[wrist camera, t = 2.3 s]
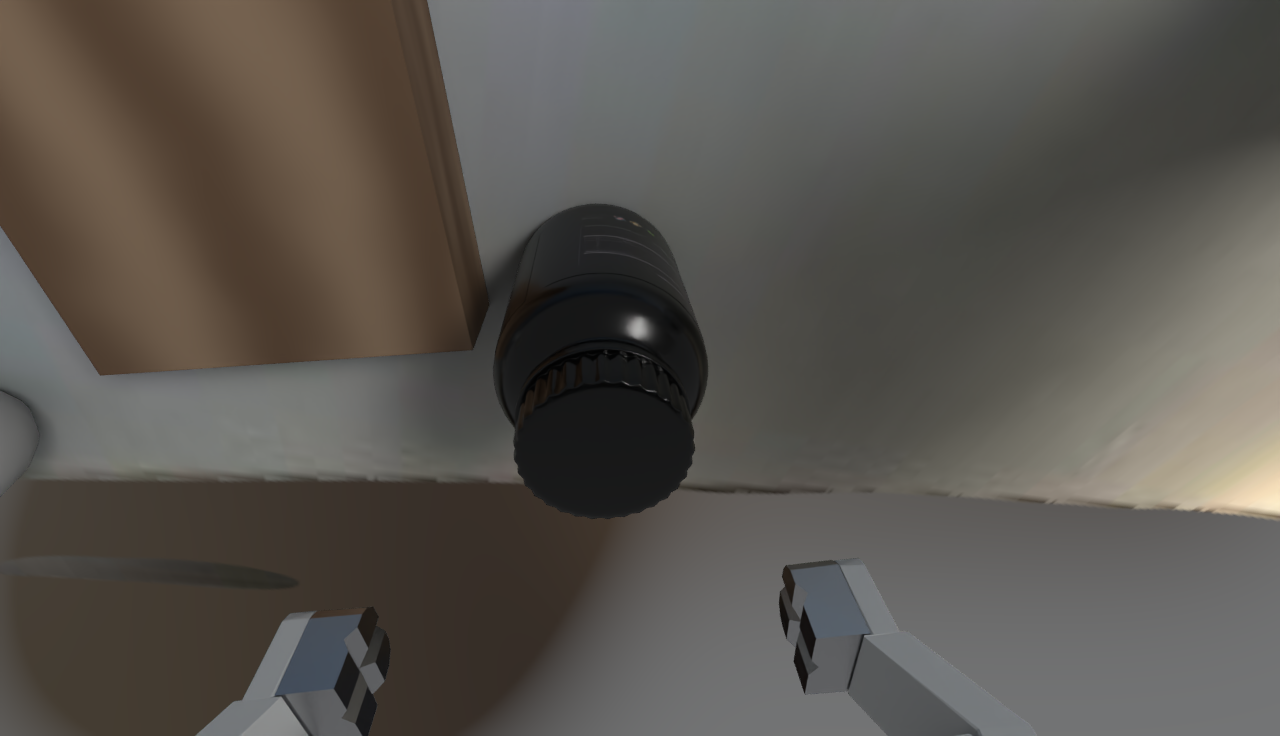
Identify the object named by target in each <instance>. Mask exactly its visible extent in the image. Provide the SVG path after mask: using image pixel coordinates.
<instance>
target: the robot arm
mask: <svg viewBox="0 0 1280 736" xmlns="http://www.w3.org/2000/svg"><path fill="white" fill-rule="evenodd" d="M782 578H783V581H784V584H785V587H784V588H783V589H782V590H781V591H780V597H779V608H780V617H781V622H782V626H783V629H784V633H785V636H786V639H787V640H788V641H789V642H790V643H791V644H792V645H794V646H795V647H796V649H795V655H794V664H795V667H796V670H797V673H798V676H799V679H800V682H801V685H802V688H803V691H804V693H805V695H806V694H818V693H830V692H844V691H848V694H849V695H850V696H851V697H852V698H853V700H854V701H855V702H856V703H857V704H858V705H859V706H860V707H861V708H862V709H863V710H864V711H865V712H866V713H867V714H868V715H869V716H870V718H871V719H873V721H874V722H875V723H876V724H877V725H878V726H879V727H880V728H881V729H882V730H883V731H884V732H885V733H886V734H887V735H888V736H1037V734H1036V733H1035V731H1034V730H1033V728H1032V726H1031V725H1030V724H1028V723H1027V722H1026V721H1024V720H1023V719H1022V718H1021V717H1019V716H1018V715H1017V714H1015V713H1014V712H1013V711H1011V710H1010V709H1009V708H1007V707H1006V706H1005V705H1004V704H1002V703H1001V702H1000V701H998V700H997V699H996V698H994V697H993V696H991V695H990V694H989V693H988V692H987V691H985V690H984V689H983V688H981V687H980V686H979V685H977V684H976V683H975V682H973V681H972V680H971V679H969V678H968V677H967V676H965V675H964V674H963V673H962V672H960V671H959V670H958V669H956V668H955V667H954V666H952V665H951V664H950V663H948V662H947V661H946V660H945V659H943V658H942V657H940V656H939V655H938V654H937V653H935V652H934V651H933V650H931V649H930V648H929V647H927V646H926V645H925V644H924V643H922V642H921V641H920V640H918V639H917V638H916V637H914V636H913V635H912V634H910V633H909V632H908V631H899V629H898V627H897V625H896V623H895V621H894V620H893V618H892V616H891V614H890V612H889V610H888V608H887V606H886V604H885V602H884V600H883V598H882V597H881V595H880V593H879V591H878V589H877V587H876V585H875V583H874V581H873V580H872V577H871V575H870V574H869V572H868V570H867V568H866V566H865V564H864V562H863V561H862V560H860V559H859V558H853V559H844V560H836V561H833V560H828V561H819V562H810V563H801V564H793V565H786V566H785V567H784V569H783V574H782ZM378 618H379V616H378V615H377V613H376V611H375V609H374V607H362V608H351V609H350V608H349V609H337V610H324V611H311V612H300V613H290V614H289V615H288V616H287V617H286V618H285V619H284V620H283V621H282V623H281V624H280V626H279V628H278V630H277V632H276V634H275V636H274V638H273V640H272V642H271V644H270V646H269V648H268V650H267V652H266V654H265V656H264V658H263V660H262V662H261V664H260V666H259V668H258V670H257V672H256V674H255V676H254V678H253V680H252V682H251V684H250V685H249V687H248V690H247V691H246V694H245V695H244V698H243V699H242V700H239V701H234V702H232V703H231V704H230V705H229V706H228V707H227V708H226V709H225V710H224V711H222V712H221V713H220V714H219V715H218V716H217V717H216V718H215V719H214V720H212V721H211V722H210V723H209V724H208V725H207V726H206V727H205V728H203V729H202V730H201V731H200V732H199V733H198V734H197V735H196V736H368V735H369V731H370V728H371V725H372V722H373V718H374V715H375V712H376V709H377V703H376V701H375V698H374V695H373V693H374V692H375V691H376V690H377V689H378V688H379V687H380V686H381V685H382V684H383V682H385V679H386V675H387V672H388V668H389V660H390V650H391V649H390V643H389V638H388V636H387V633H386V631H385V630H383V629H381V628H379V627H378V626H376V624H377V621H378Z"/></svg>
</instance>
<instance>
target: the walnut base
mask: <svg viewBox="0 0 1280 736" xmlns="http://www.w3.org/2000/svg"><path fill="white" fill-rule="evenodd" d="M0 226H1V227H2V229H3V230H4V232H5V233H6V235H7V236H8V238H9V239H10V241H11V242H12V244H13V245H14V247H15V248H16V250H17V251H18V253H19V254H20V256H21V257H22V259H23V260H24V262H25V263H26V265H27V266H28V268H29V269H30V271H31V272H32V274H33V275H34V277H35V278H36V280H37V281H38V283H39V284H40V286H41V287H42V289H43V290H44V292H45V293H46V295H47V296H48V298H49V299H50V301H51V302H52V304H53V305H54V307H55V308H56V310H57V311H58V313H59V314H60V316H61V317H62V319H63V320H64V322H65V323H66V325H67V326H68V328H69V329H70V331H71V333H72V334H73V336H74V337H75V339H76V340H77V342H78V343H79V345H80V346H81V348H82V349H83V351H84V352H85V354H86V355H87V357H88V358H89V360H90V361H91V363H92V364H93V366H94V367H95V369H96V370H97V372H98V373H99V375H114V374H129V373H144V372H158V371H173V370H187V369H202V368H217V367H231V366H246V365H261V364H275V363H290V362H304V361H319V360H334V359H348V358H363V357H377V356H392V355H407V354H421V353H436V352H450V351H465V350H473V348H474V345H475V343H476V340H477V337H478V334H479V332H480V329H481V326H482V323H483V321H484V318H485V315H486V312H487V310H488V307H489V300H488V295H487V290H486V285H485V280H484V275H483V270H482V266H481V261H480V256H479V251H478V246H477V241H476V236H475V232H474V227H473V222H472V217H471V212H470V207H469V202H468V198H467V193H466V188H465V183H464V178H463V173H462V168H461V164H460V159H459V154H458V149H457V144H456V139H455V134H454V130H453V125H452V120H451V115H450V110H449V105H448V100H447V95H446V91H445V86H444V81H443V76H442V71H441V66H440V61H439V57H438V52H437V47H436V42H435V37H434V32H433V27H432V23H431V18H430V13H429V8H428V3H427V0H0Z"/></svg>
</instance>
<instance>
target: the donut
mask: <svg viewBox="0 0 1280 736" xmlns="http://www.w3.org/2000/svg"><path fill="white" fill-rule="evenodd" d="M39 436H40V434H39V431H38V428H37V426H36V423H35V421H34V418H33V416H32V413H31V411H30V409H29V408H28V407H27V406H26V405H25V404H24V403H23V402H22V401H21V400H19V399H17V398H15V397H13V396H11V395H9V394H6V393H4V392H2V391H0V497H1V496H2V495H3V494H4V493H5V492H6V491H7V490H8V489H9V488H10V487H11V485H12V484H13V483H14V482H15V481H16V480H17V479H18V478H19V477H20V476H21V475H22V474H23V473H24V472H25V470H26V469H27V468H28V467H29V465H30V463H31V461H32V458H33V456H34V453H35V451H36V448H37V446H38V442H39Z"/></svg>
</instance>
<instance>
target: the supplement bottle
mask: <svg viewBox="0 0 1280 736" xmlns="http://www.w3.org/2000/svg"><path fill="white" fill-rule="evenodd" d="M493 376H494V385H495V390H496V394H497V397H498V400H499V403H500V405H501V407H502V409H503V411H504V413H505V415H506V417H507V418H508V420H509V421H510V423H511V424H512V425H513V427H514V428H515V434H514V441H513V443H514V447H515V450H514V460H515V462H516V463H517V465H518V474H519V475H520V476H521V477H522V478H523V479H524V484H525V486H527V487H528V488H530V489H531V490H532V492H533V494H534V496H536V497H538V498H540V499H542V500H543V501H544V502H545V503H546V505H549V506H552V507H555V508H557V509H558V510H559V511H560V512H566V513H570V514H572V515H574V516H585V517H588V518H590V519H595V518H605V519H610V518H613V517H625V516H627V515H629V514H632V513H640V512H642V511H643V510H644V509H646V508H649V507H654V506H655V505H656V504H657V503H658V502H659V501H661V500H664V499H666V498H668V496H669V495H670V493H671V492H673V491H675V490H676V489H678V487H679V485H680V482H681V481H682V480H683V479H684V478H686V477H687V470H688V469H689V467H690V466H691V465H692V455H693V453H694V451H695V444H694V440H693V439H694V430H693V426H692V422H691V421H692V419H693V417H694V416H695V414H696V413H697V411H698V409H699V407H700V405H701V402H702V399H703V397H704V394H705V390H706V386H707V379H708V359H707V354H706V349H705V345H704V341H703V338H702V335H701V332H700V329H699V326H698V323H697V320H696V318H695V315H694V312H693V309H692V306H691V304H690V301H689V298H688V295H687V292H686V290H685V287H684V284H683V281H682V278H681V276H680V273H679V270H678V267H677V264H676V262H675V259H674V257H673V254H672V252H671V250H670V248H669V246H668V244H667V242H666V241H665V239H664V238H663V236H662V235H661V234H660V232H659V231H658V230H657V229H656V228H655V227H654V226H653V225H652V224H651V223H650V222H648V221H647V220H646V219H644V218H643V217H641V216H640V215H638V214H636V213H634V212H632V211H630V210H628V209H625V208H622V207H618V206H614V205H608V204H586V205H580V206H576V207H573V208H570V209H567V210H564V211H562V212H560V213H558V214H556V215H555V216H553V217H552V218H550V219H549V220H547V221H546V222H545V223H544V224H543V225H542V226H541V227H540V228H539V229H538V230H537V231H536V232H535V233H534V235H533V236H532V237H531V239H530V240H529V242H528V244H527V246H526V248H525V250H524V252H523V255H522V258H521V261H520V264H519V267H518V270H517V274H516V278H515V281H514V285H513V288H512V292H511V296H510V299H509V303H508V306H507V310H506V314H505V317H504V321H503V324H502V328H501V332H500V335H499V339H498V343H497V347H496V351H495V358H494V366H493Z"/></svg>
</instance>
